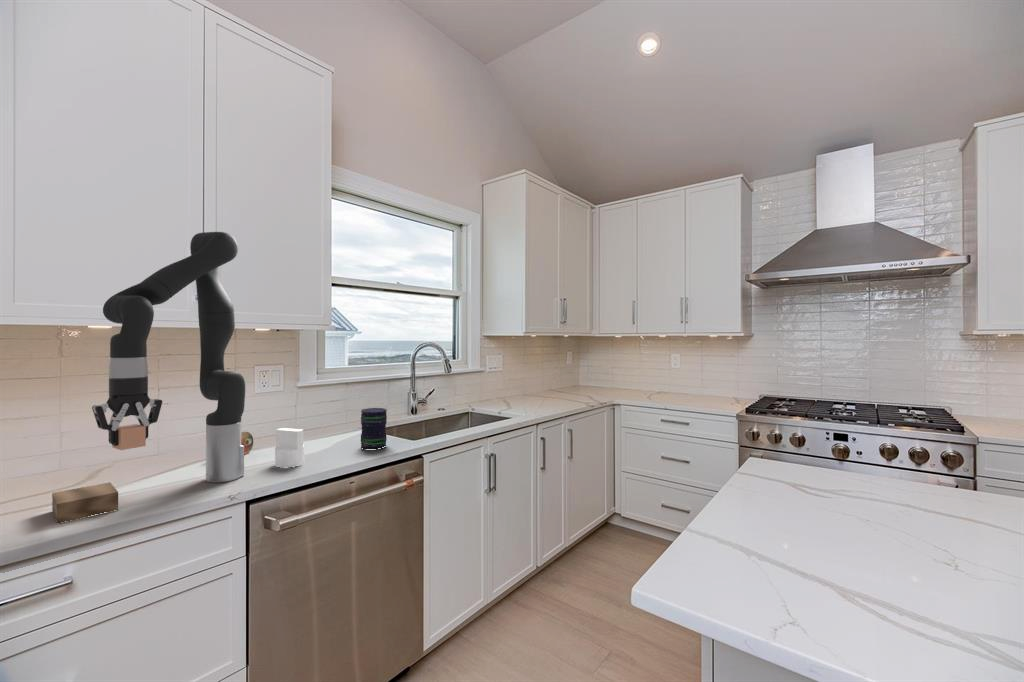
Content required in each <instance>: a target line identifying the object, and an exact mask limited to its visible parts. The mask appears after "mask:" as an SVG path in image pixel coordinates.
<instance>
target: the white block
mask: <svg viewBox="0 0 1024 682" xmlns="http://www.w3.org/2000/svg"><path fill="white" fill-rule="evenodd" d="M275 435H276V436H275V437H276V438H275V447H274V467H275V466H276V467H275V468H277V467H280V468H279V469H284V468H283V467H293V466H296V465H300V464H302V463H303V462H304V463H305V445H304V429H303V428H302V429H301V428H300V429H299V428H288V427H282V428H281V427H280V428H277V429H276V430H275ZM281 467H282V468H281ZM293 468H294V467H293Z"/></svg>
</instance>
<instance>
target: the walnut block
mask: <svg viewBox="0 0 1024 682" xmlns="http://www.w3.org/2000/svg"><path fill="white" fill-rule="evenodd" d="M51 495H52V496H51V500H52V501H51V503H52V504H51V506H52V509H51V510H52V511H53V512H52V514H53V517H54V519H56V520H55V522H56V524H57V523H59V524H62V523H61V522H64V523H66V522H65V521H68V522H71V521H70V520H73V521H77V520H76V519H78V520H81V519H80V518H82V519H84V518H83V517H87V518H89V517H88V516H91V515H95V514H100V513H104V512H110V511H114V510H118V511H119V491H118V490H117V489H116V488H115V486H114V485H113V484H112V483H111V482H105V483H99V484H93V485H89V486H84V487H83V486H82V487H78V488H71V489H66V490H60V491H55V492H52V494H51ZM114 512H115V511H114ZM110 513H111V512H110ZM100 515H101V514H100ZM91 517H92V516H91Z"/></svg>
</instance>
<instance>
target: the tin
mask: <svg viewBox="0 0 1024 682" xmlns="http://www.w3.org/2000/svg"><path fill="white" fill-rule="evenodd" d="M241 445H243V446H244V454H245V455H247V454H249V453H250V452H251V450H252V449H253V446H254V438H253V435H252V434H251V433H250V432H249V431H241Z"/></svg>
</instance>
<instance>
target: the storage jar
mask: <svg viewBox="0 0 1024 682" xmlns="http://www.w3.org/2000/svg"><path fill="white" fill-rule="evenodd" d="M360 413H361V415H360V416H361V417H360V424H361V434H360V445H361V447H360V449H361V448H363V449H378V448H382V447H384V446H386V447H387V439H388V438H387V427H386V426H387V419H388V417H387V409H386V408H383V407H369V408H362V409H361V411H360Z"/></svg>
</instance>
